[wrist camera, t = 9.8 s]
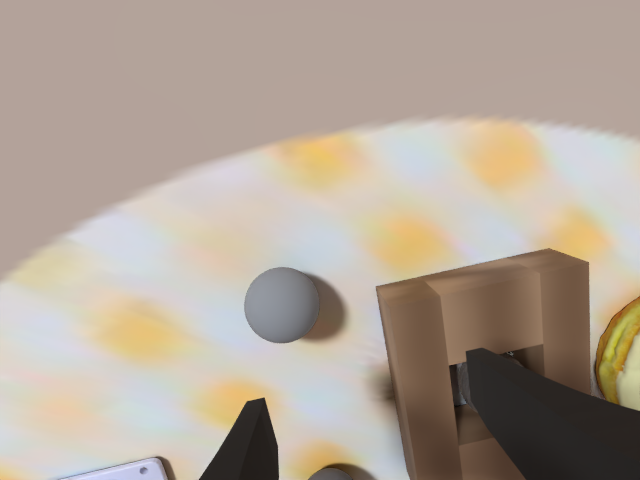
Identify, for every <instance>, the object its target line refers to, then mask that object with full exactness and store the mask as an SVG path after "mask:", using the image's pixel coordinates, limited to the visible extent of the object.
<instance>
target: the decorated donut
mask: <svg viewBox="0 0 640 480" xmlns="http://www.w3.org/2000/svg"><path fill="white" fill-rule="evenodd" d="M596 355H597V361H596V375H597V381H598V384H599V388H600V390H601V392H602V393H603V395H604V396H605V399H606V400H607V401H609V402H612V403H615V404H618V405H621V406H624V407H628V408H631V409H635V410H639V411H640V297H638V298H637V299H636V300H634V301H633V302H631V303H630V304H628V305H627V306H626V307H625V308H624V309H623V310H622V311H620V312H619V313H618V314H616V315H615V316H614V317H613V319H612V320H611V321H610V324H609V326H608V328H607V330H606V332H605V333H604V334H603V335H602V336H601V338H600V342H599V345H598V349H597V353H596Z"/></svg>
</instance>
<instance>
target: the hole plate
mask: <svg viewBox="0 0 640 480" xmlns="http://www.w3.org/2000/svg"><path fill="white" fill-rule="evenodd" d="M376 291H377V297H378V303H379V309H380V315H381V320H382V326H383V332H384V338H385V344H386V350H387V356H388V362H389V368H390V373H391V379H392V385H393V391H394V397H395V403H396V409H397V415H398V421H399V426H400V432H401V438H402V444H403V450H404V456H405V462H406V468H407V472H408V475H409V477H410V480H526V479H525V478H524V476H523V475H522V474H521V472H520V471H519V470H518V468H517V467H516V466H515V464H514V463H513V462H512V461H511V459H510V458H509V457H508V455H507V454H506V453H505V451H504V450H503V449H502V447H501V446H500V445H499V443H498V442H497V441H496V439H495V438H494V437H493V435H492V434H491V433H490V431H489V430H488V429H487V427H486V426H485V424H484V422H483V421H482V419H481V417H480V416H479V414H478V413H477V412H475V411H474V410H473V409H472V408H471V407H470V406H469V405H468V404H465V405H461V406H457V407H454V404H453V395H452V387H451V379H450V371H449V365H454V364H458V363H462V362H467V361H466V352H465V351H469V350H473V349H477V348H485V349H487V350H489V351H491V352H494V353H496V354H501V353H505V352H510V351H513V357H514V358H515V359H516V360H518V361H519V362H520V363H521V364H522V366H523V367H524V368H527V369H529V370H531V371H533V372H535V373H537V374H540V375H542V376H544V377H546V378H549V379H551V380H553V381H555V382H558V383H560V384H563V385H565V386H568V387H570V388H572V389H575V390H578V391H580V392H583V393H585V394H588V395H591V393H590V313H589V262H586V261H583V260H581V259H578V258H575V257H572V256H569V255H567V254H564V253H561V252H558V251H555V250H552V249H550V248H548V249H544V250H539V251H535V252H530V253H526V254H521V255H516V256H512V257H507V258H503V259H498V260H494V261H489V262H485V263H480V264H476V265H471V266H467V267H462V268H458V269H453V270H449V271H444V272H440V273H435V274H430V275H426V276H421V277H417V278H412V279H408V280H403V281H399V282H394V283H390V284H385V285H381V286H376Z"/></svg>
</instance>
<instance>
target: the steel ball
mask: <svg viewBox="0 0 640 480" xmlns="http://www.w3.org/2000/svg"><path fill="white" fill-rule="evenodd" d="M498 355H500V356H502V357H504V358H506V359H508V360H510V361H512V362H514V363H516V364H518V365H520V366H522V364H521V363H520V362H519V361H518V360H516V359H515V358H514V357H513V356H511V355H509V354H507V353H501V354H498ZM522 367H523V366H522ZM458 384H459V389H460V392H461V394H462V396H463V398H464V400H465V401H466V403H467V404H468V405H469V406H470V407H471V408H472V409H473V410H474V411H475V412H477V410H476V409H475V407H474V405H473V403H472V402H471V398H470V388H469V379H468V370H467V362H463V363H462V365H461V367H460V370H459V374H458ZM477 413H478V412H477Z"/></svg>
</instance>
